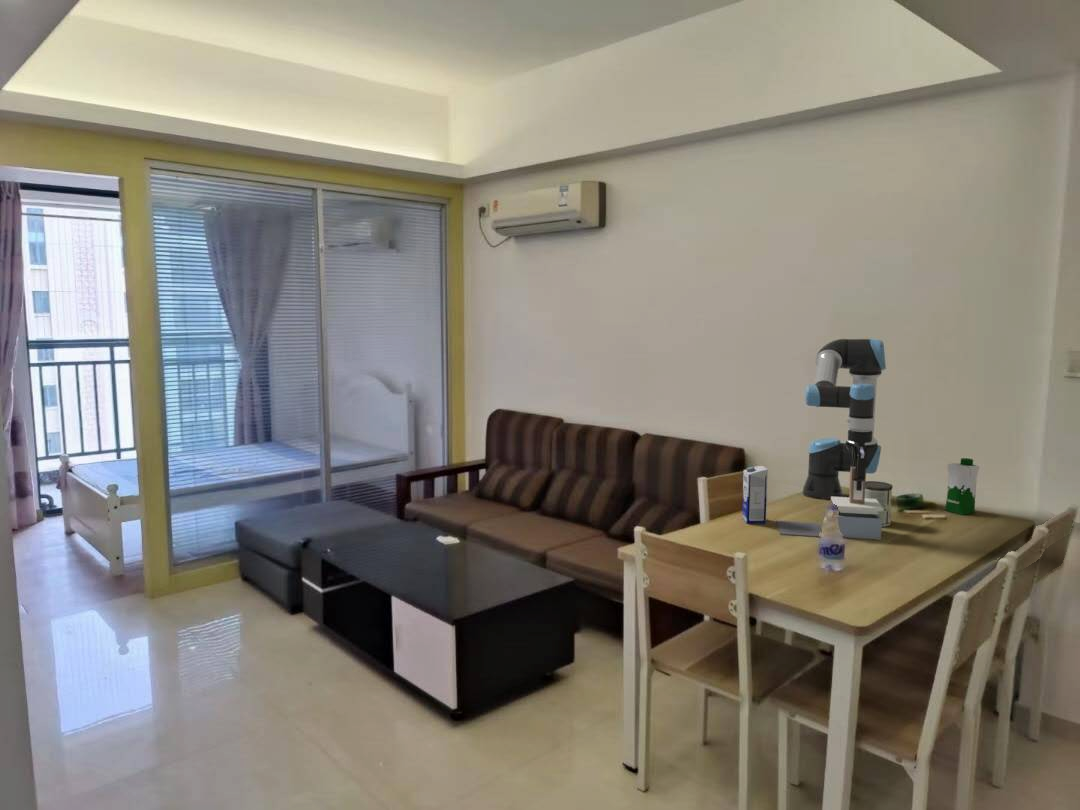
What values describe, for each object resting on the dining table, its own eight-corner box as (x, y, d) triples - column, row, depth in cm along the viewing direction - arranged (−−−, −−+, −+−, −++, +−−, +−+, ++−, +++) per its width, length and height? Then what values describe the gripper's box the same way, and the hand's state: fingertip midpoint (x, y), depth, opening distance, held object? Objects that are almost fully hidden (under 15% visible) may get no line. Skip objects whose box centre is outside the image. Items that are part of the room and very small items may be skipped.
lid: (830, 503, 257) (832, 462, 255) (875, 506, 254) (877, 464, 252) (836, 513, 245) (838, 470, 243) (883, 516, 242) (885, 472, 240)
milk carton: (765, 523, 261) (767, 468, 259) (746, 523, 261) (748, 468, 259) (760, 518, 268) (762, 464, 266) (741, 518, 268) (743, 464, 266)
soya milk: (978, 513, 274) (982, 460, 272) (962, 516, 271) (966, 462, 268) (956, 507, 282) (960, 456, 280) (940, 510, 279) (944, 458, 276)
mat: (776, 521, 264) (776, 520, 264) (817, 524, 260) (817, 523, 260) (780, 534, 248) (780, 533, 248) (823, 537, 245) (823, 536, 245)
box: (830, 526, 258) (831, 507, 257) (873, 529, 254) (874, 509, 253) (835, 536, 246) (836, 516, 245) (880, 539, 243) (881, 519, 242)
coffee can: (854, 518, 268) (856, 480, 266) (884, 519, 267) (886, 481, 265) (864, 526, 258) (866, 487, 256) (894, 527, 257) (897, 487, 255)
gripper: (844, 425, 254) (841, 491, 258) (852, 433, 239) (848, 503, 242) (867, 426, 253) (864, 492, 256) (877, 434, 237) (873, 504, 240)
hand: (856, 497), depth 249 cm, fingers closed on lid, 3 cm apart
